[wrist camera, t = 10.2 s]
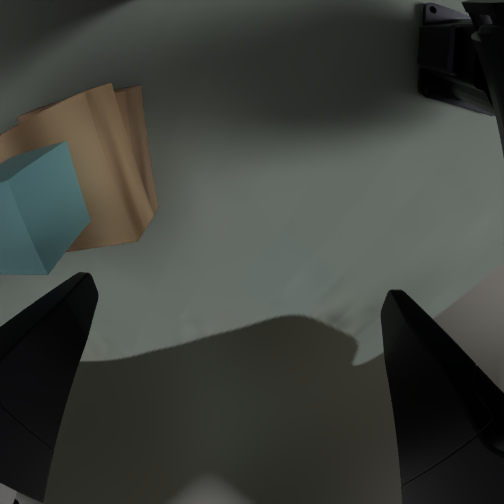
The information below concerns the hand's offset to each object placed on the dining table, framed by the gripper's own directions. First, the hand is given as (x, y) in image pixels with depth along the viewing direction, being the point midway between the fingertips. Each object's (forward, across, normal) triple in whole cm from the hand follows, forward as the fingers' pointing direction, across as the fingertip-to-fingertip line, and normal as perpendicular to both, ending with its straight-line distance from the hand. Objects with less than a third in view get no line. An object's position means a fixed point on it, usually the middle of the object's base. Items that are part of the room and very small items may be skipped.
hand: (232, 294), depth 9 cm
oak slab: (+11, +12, 0) cm, 16 cm away
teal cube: (+8, +12, 0) cm, 14 cm away
